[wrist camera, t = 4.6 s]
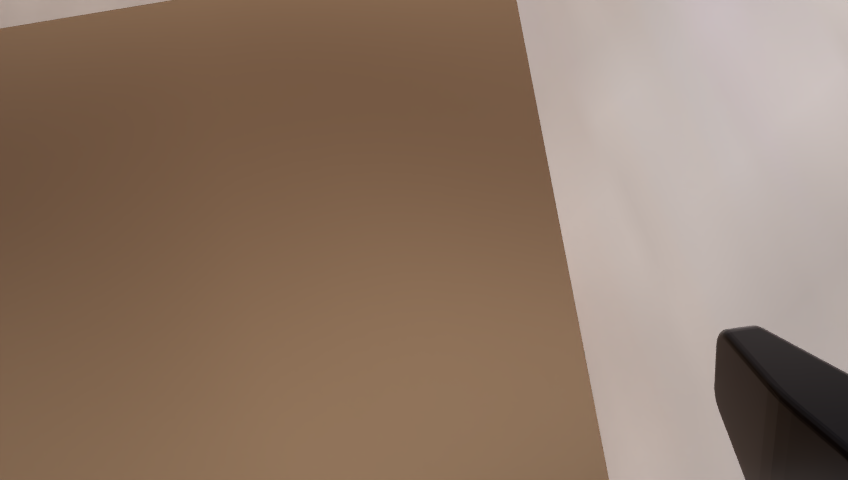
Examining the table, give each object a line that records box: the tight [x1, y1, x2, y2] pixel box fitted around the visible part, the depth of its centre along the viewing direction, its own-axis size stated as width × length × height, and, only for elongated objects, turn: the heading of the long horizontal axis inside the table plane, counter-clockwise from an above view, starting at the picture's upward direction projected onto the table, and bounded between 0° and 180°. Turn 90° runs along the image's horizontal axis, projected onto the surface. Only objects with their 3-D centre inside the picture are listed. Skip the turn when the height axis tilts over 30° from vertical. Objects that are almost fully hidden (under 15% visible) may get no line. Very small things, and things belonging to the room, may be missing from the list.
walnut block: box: [0, 0, 609, 480], centre depth 11 cm, size 5×5×12 cm
